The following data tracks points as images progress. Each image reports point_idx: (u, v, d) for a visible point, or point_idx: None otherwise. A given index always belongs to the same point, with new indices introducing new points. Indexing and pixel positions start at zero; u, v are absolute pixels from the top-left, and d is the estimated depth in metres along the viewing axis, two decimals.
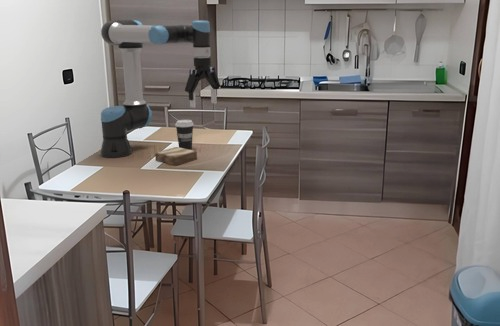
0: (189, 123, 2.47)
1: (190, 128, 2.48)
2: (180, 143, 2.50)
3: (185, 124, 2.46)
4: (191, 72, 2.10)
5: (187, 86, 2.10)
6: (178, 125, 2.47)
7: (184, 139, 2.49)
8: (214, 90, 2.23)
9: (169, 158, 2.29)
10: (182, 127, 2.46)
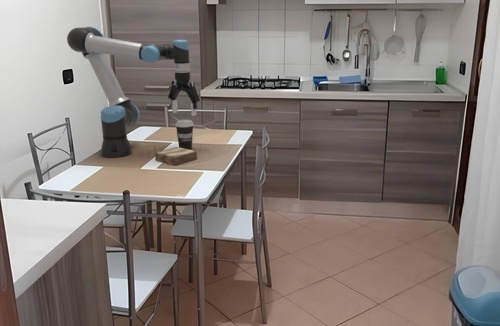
0: (189, 123, 2.47)
1: (190, 128, 2.48)
2: (180, 143, 2.50)
3: (185, 124, 2.46)
4: None
5: None
6: (178, 125, 2.47)
7: (184, 139, 2.49)
8: None
9: (169, 158, 2.29)
10: (182, 127, 2.46)
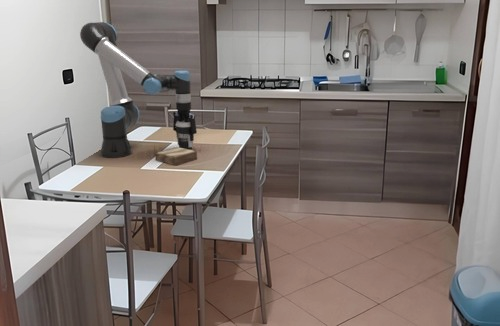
0: (189, 123, 2.47)
1: None
2: (180, 143, 2.50)
3: (185, 124, 2.46)
4: None
5: None
6: (178, 125, 2.47)
7: (184, 139, 2.49)
8: None
9: (169, 158, 2.29)
10: (182, 127, 2.46)
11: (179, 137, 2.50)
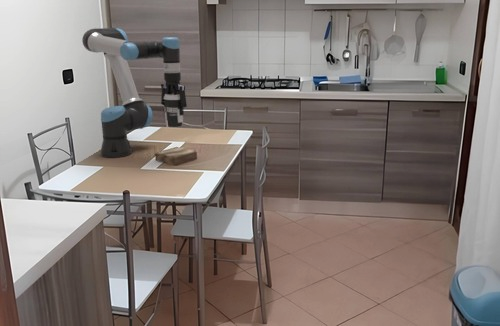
0: (179, 96, 2.25)
1: None
2: (169, 118, 2.28)
3: (174, 96, 2.24)
4: None
5: None
6: (167, 98, 2.24)
7: (173, 113, 2.26)
8: None
9: (169, 158, 2.29)
10: (171, 100, 2.24)
11: (168, 111, 2.27)
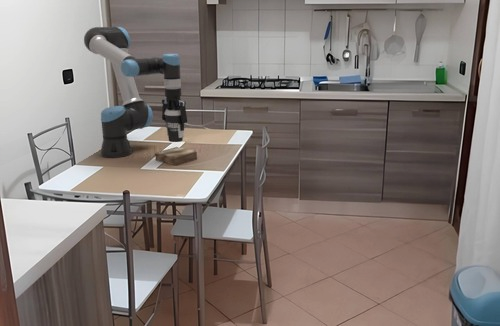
0: (179, 111, 2.27)
1: None
2: (170, 133, 2.30)
3: (175, 112, 2.26)
4: None
5: None
6: (167, 113, 2.26)
7: (173, 129, 2.28)
8: None
9: (169, 158, 2.29)
10: (172, 115, 2.26)
11: (168, 127, 2.29)
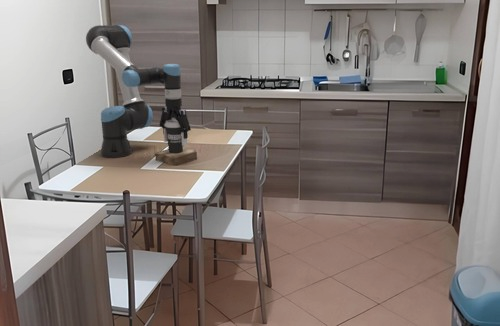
0: None
1: (180, 129, 2.29)
2: (170, 145, 2.31)
3: (175, 124, 2.27)
4: None
5: None
6: (167, 125, 2.28)
7: (173, 140, 2.30)
8: None
9: (169, 158, 2.29)
10: (172, 127, 2.27)
11: (168, 138, 2.30)
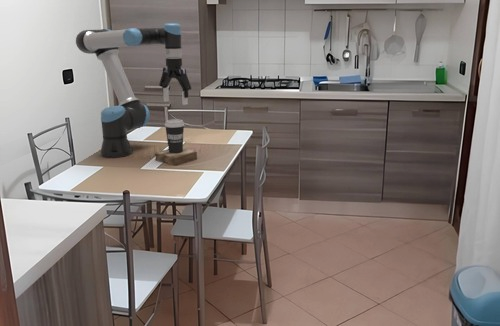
0: (179, 123, 2.28)
1: (180, 128, 2.29)
2: (170, 145, 2.31)
3: (175, 124, 2.27)
4: None
5: None
6: (167, 125, 2.28)
7: (173, 140, 2.30)
8: None
9: (169, 158, 2.29)
10: (172, 127, 2.27)
11: (168, 138, 2.31)
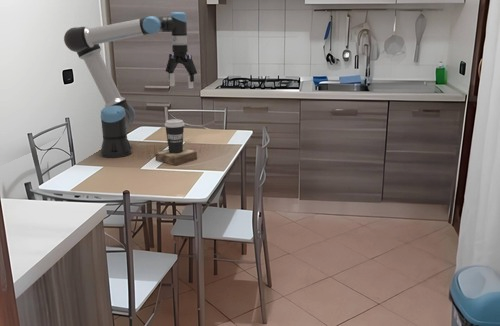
0: (179, 123, 2.28)
1: (180, 128, 2.29)
2: (170, 145, 2.31)
3: (175, 124, 2.27)
4: None
5: None
6: (167, 125, 2.28)
7: (173, 140, 2.30)
8: None
9: (169, 158, 2.29)
10: (172, 127, 2.27)
11: (168, 138, 2.31)
